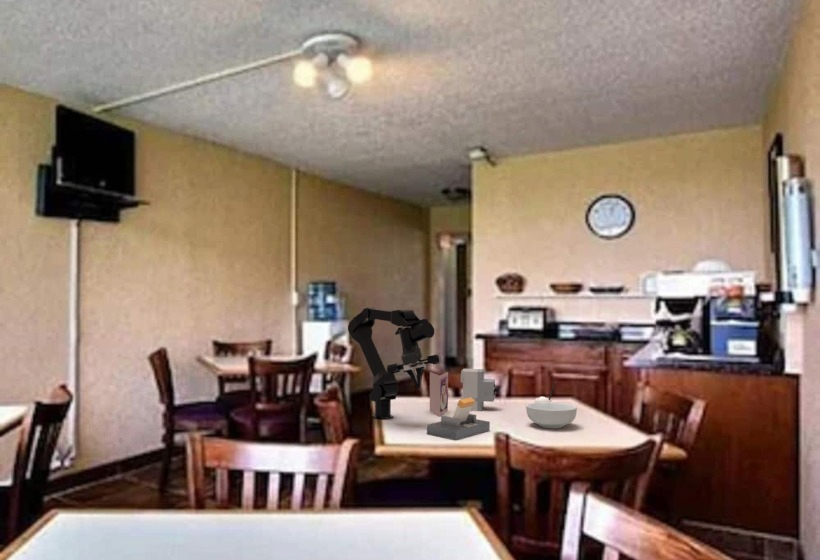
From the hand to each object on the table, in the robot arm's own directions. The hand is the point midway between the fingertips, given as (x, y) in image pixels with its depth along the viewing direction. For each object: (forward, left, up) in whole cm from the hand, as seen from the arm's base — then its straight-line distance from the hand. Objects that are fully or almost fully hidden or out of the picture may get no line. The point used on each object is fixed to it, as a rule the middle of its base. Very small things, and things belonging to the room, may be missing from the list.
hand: (419, 389), depth 232 cm
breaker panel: (+13, +10, -12) cm, 21 cm away
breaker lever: (+13, +10, -9) cm, 19 cm away
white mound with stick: (-8, +51, -13) cm, 53 cm away
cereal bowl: (+12, +44, -13) cm, 47 cm away
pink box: (-18, +12, -13) cm, 25 cm away
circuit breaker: (-22, +31, -13) cm, 40 cm away
